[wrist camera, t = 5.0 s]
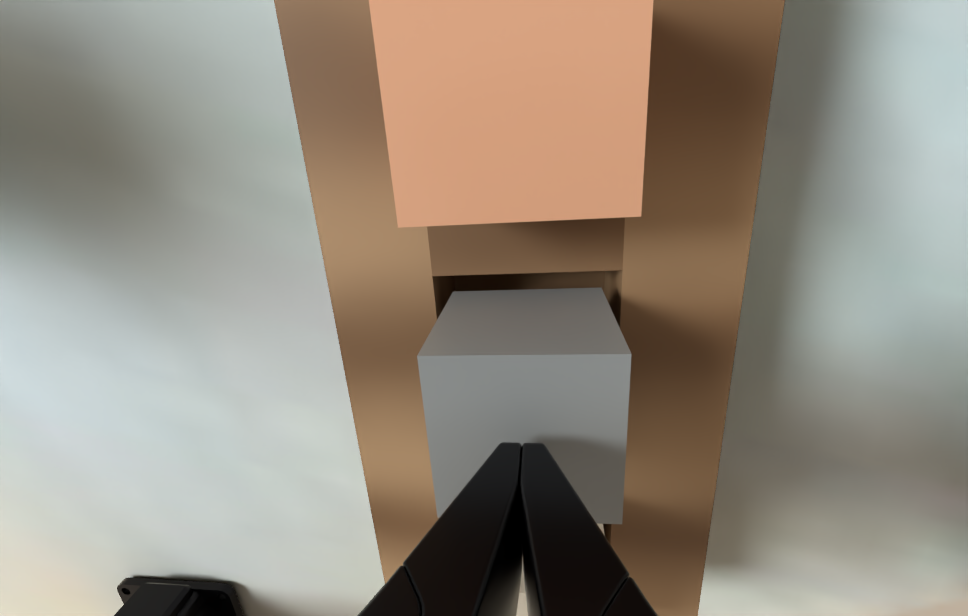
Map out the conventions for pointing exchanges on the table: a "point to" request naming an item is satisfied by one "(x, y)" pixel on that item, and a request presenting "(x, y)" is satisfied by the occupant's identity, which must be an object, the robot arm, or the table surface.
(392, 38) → the orange cube
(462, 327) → the grey cube
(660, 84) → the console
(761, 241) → the table surface
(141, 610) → the robot arm
